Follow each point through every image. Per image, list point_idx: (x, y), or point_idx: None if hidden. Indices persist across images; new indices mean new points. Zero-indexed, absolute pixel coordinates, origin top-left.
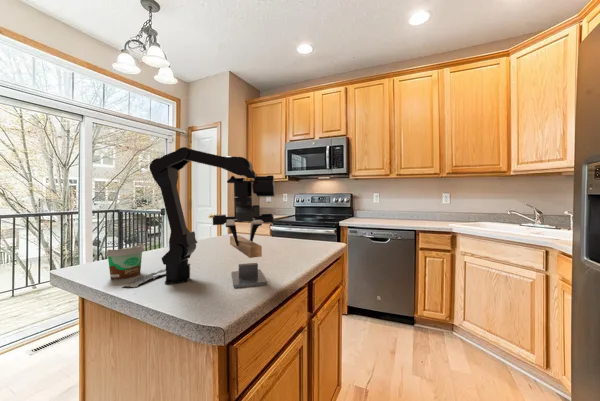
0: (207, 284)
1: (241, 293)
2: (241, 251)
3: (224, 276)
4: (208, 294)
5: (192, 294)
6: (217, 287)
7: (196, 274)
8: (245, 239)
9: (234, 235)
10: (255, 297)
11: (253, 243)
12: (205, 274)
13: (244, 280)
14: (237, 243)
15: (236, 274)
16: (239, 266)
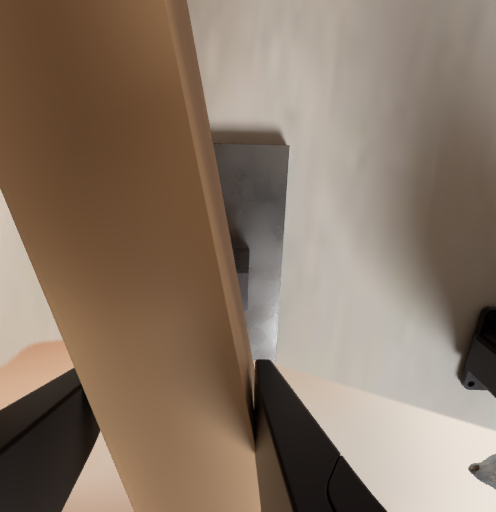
0: (398, 248)
1: (257, 50)
2: (229, 239)
3: (308, 336)
4: (416, 96)
5: (487, 125)
6: (360, 188)
7: (423, 399)
8: (149, 471)
9: (330, 469)
10: None
11: (10, 98)
12: (386, 388)
13: (226, 201)
14: (262, 374)
15: (256, 311)
16: (245, 271)
